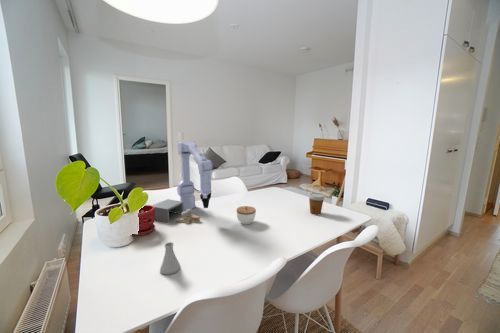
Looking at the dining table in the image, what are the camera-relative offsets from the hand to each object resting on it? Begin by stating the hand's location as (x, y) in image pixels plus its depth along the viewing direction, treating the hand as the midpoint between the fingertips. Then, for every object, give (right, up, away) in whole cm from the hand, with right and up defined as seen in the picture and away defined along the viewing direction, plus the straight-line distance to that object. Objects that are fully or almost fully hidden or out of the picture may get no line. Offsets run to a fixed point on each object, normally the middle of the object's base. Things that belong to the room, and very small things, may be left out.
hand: (206, 207), depth 121 cm
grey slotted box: (-25, -7, +11) cm, 28 cm away
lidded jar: (+22, -10, +4) cm, 24 cm away
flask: (-6, -16, -39) cm, 42 cm away
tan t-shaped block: (-10, -8, +5) cm, 14 cm away
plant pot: (-31, -11, -9) cm, 34 cm away
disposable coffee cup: (+65, -8, +19) cm, 68 cm away
